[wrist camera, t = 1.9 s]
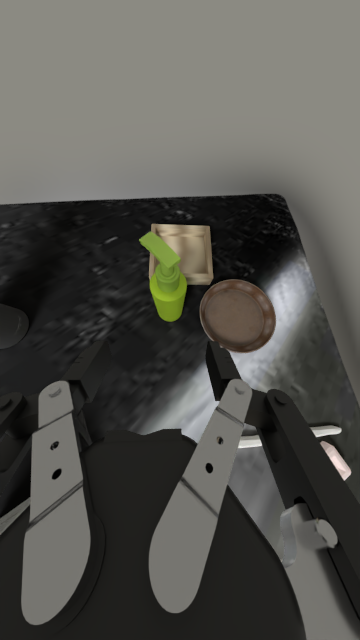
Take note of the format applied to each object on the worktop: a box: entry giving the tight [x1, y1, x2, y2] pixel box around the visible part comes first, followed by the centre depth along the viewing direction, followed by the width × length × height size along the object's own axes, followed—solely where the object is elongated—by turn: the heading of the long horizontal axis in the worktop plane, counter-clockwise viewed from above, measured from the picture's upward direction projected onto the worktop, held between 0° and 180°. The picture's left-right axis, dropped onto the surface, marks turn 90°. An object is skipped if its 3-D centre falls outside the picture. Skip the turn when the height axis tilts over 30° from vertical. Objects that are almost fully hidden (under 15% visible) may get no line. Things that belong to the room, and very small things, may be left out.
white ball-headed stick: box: [238, 425, 341, 448], centre depth 29 cm, size 28×4×3 cm, turn 95°
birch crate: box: [149, 224, 213, 285], centre depth 38 cm, size 15×15×4 cm
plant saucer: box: [200, 279, 276, 353], centre depth 35 cm, size 18×18×3 cm
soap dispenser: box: [139, 232, 187, 321], centre depth 26 cm, size 6×7×20 cm
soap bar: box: [320, 441, 351, 481], centre depth 28 cm, size 5×9×2 cm, turn 121°
